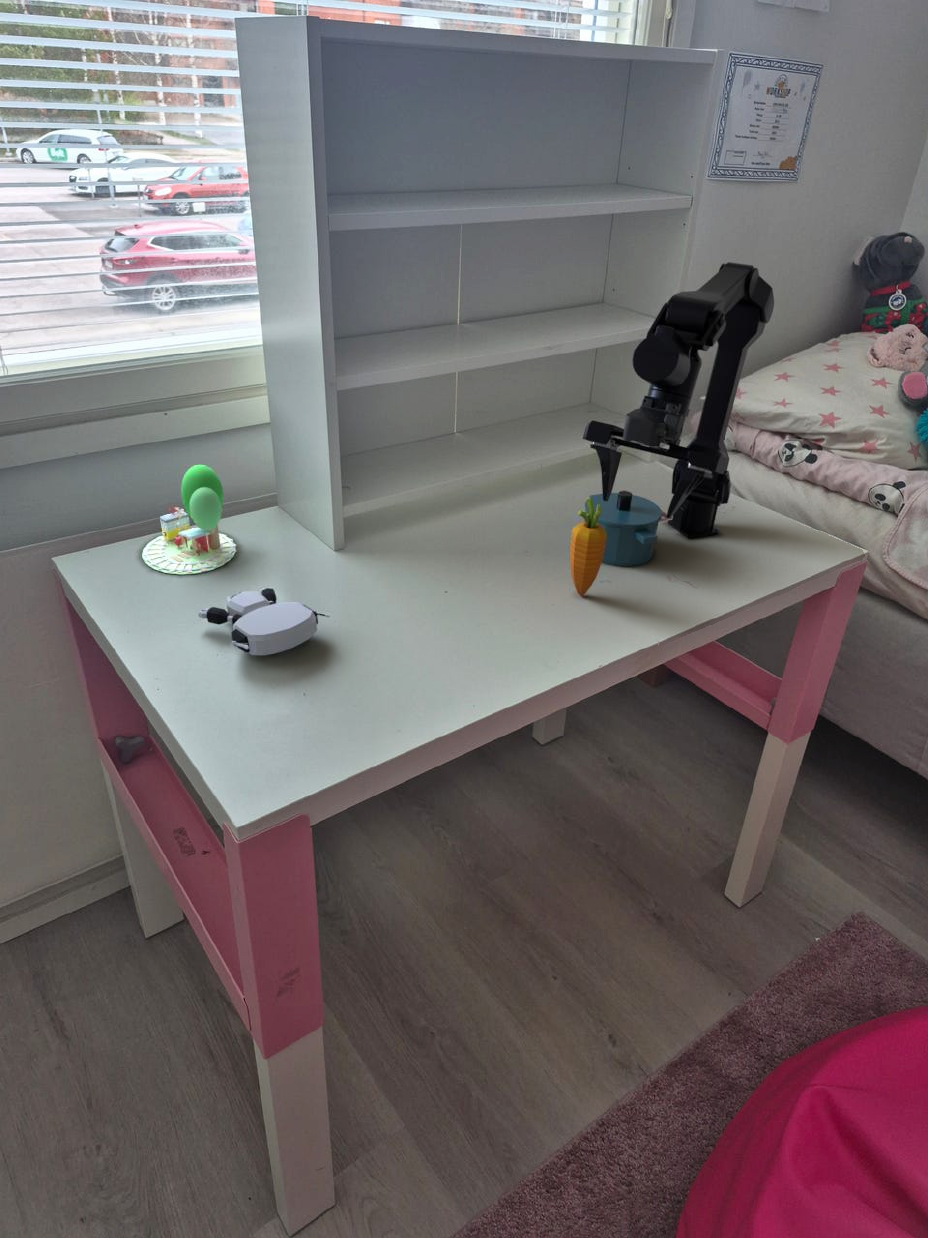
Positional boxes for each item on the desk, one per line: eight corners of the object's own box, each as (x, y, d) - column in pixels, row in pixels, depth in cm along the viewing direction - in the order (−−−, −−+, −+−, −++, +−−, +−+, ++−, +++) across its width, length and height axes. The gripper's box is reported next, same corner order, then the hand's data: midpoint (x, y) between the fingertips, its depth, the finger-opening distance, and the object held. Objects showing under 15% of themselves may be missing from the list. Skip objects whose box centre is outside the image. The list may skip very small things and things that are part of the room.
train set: (125, 455, 130) (220, 447, 134) (138, 536, 137) (228, 525, 141) (132, 493, 118) (236, 483, 123) (146, 580, 125) (244, 567, 130)
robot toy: (194, 632, 115) (253, 676, 106) (189, 602, 113) (248, 644, 104) (274, 603, 123) (335, 642, 113) (270, 574, 121) (332, 611, 111)
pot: (620, 524, 149) (625, 486, 146) (675, 568, 136) (683, 528, 133) (561, 532, 145) (566, 494, 142) (612, 578, 132) (619, 538, 129)
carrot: (596, 606, 125) (610, 511, 117) (562, 601, 126) (574, 506, 118) (598, 589, 129) (612, 497, 121) (565, 585, 130) (577, 492, 122)
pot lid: (634, 495, 144) (637, 475, 143) (676, 525, 135) (680, 504, 133) (570, 503, 140) (572, 482, 138) (608, 535, 131) (611, 513, 129)
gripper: (584, 370, 111) (552, 488, 114) (726, 399, 103) (687, 526, 107) (612, 385, 121) (581, 493, 124) (743, 412, 113) (707, 528, 116)
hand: (636, 509), depth 118 cm, fingers open, 9 cm apart
